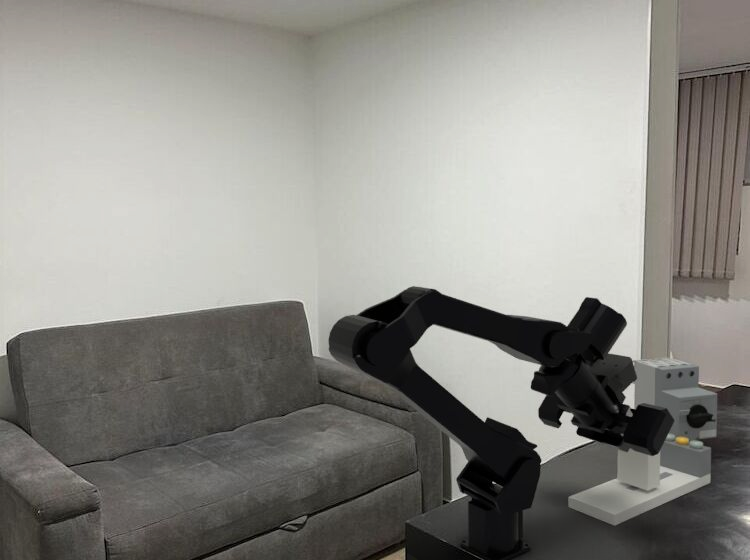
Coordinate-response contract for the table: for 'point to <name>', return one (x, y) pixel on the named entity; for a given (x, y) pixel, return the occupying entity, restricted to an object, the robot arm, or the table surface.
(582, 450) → the table surface
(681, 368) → the circuit breaker
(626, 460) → the handle
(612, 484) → the long white slab
